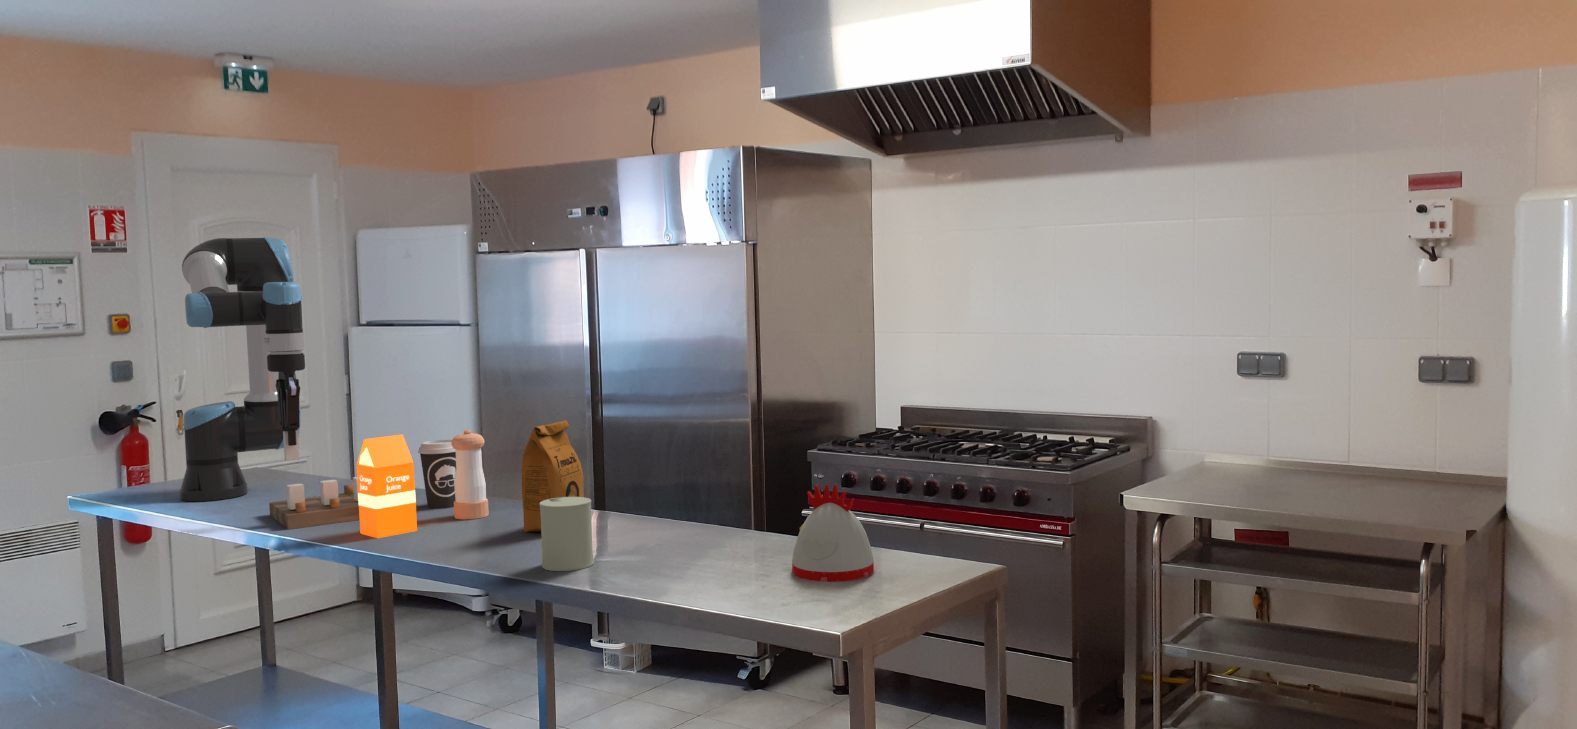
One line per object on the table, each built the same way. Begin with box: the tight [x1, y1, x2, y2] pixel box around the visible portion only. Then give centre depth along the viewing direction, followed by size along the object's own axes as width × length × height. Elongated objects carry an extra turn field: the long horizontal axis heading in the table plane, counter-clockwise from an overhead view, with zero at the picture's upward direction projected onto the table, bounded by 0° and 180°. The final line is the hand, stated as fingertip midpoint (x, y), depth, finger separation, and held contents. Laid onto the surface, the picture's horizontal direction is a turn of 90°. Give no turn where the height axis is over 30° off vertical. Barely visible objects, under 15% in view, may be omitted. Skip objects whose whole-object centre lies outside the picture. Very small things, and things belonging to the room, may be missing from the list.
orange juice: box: [356, 433, 418, 539], centre depth 234 cm, size 8×9×20 cm
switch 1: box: [286, 483, 306, 510], centre depth 246 cm, size 3×3×5 cm
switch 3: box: [352, 476, 358, 501], centre depth 254 cm, size 3×3×5 cm
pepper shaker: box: [451, 429, 490, 520], centre depth 248 cm, size 7×7×19 cm
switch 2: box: [319, 479, 339, 505], centre depth 250 cm, size 3×3×5 cm
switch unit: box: [268, 484, 360, 530], centre depth 254 cm, size 20×20×5 cm
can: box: [539, 496, 595, 572], centre depth 201 cm, size 9×9×12 cm
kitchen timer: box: [791, 483, 875, 583], centre depth 191 cm, size 14×14×15 cm
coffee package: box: [521, 419, 585, 533], centre depth 233 cm, size 10×12×22 cm
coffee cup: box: [417, 439, 456, 510], centre depth 261 cm, size 10×10×15 cm
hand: (292, 459), depth 247 cm, fingers closed
